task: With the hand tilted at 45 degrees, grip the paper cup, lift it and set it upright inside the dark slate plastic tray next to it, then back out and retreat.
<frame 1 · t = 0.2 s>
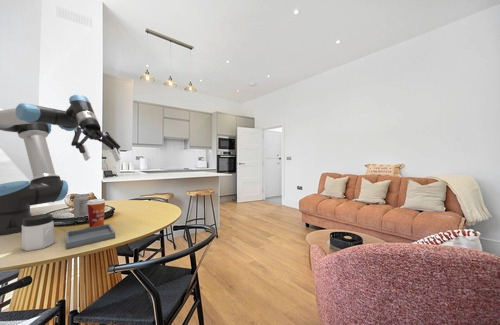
hand: (104, 159, 89), 35 cm above the table, tool tilted 35°, fingers open, 13 cm apart
tray: (90, 237, 86), on the table
jar: (38, 246, 78), on the table
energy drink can: (81, 221, 108), on the table
paper cup: (96, 227, 100), on the table
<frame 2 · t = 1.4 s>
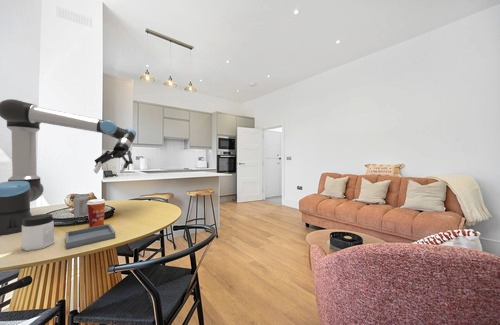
hand: (108, 171, 109), 28 cm above the table, tool tilted 45°, fingers open, 13 cm apart
nothing on the table moved.
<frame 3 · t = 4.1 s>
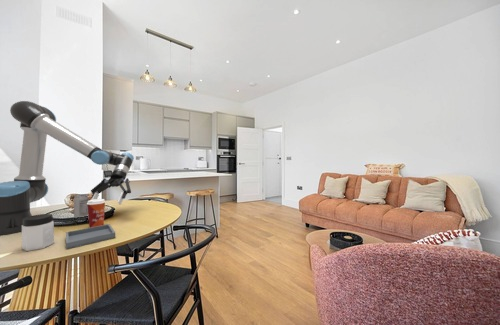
hand: (105, 203, 104), 11 cm above the table, tool tilted 45°, fingers open, 13 cm apart
nothing on the table moved.
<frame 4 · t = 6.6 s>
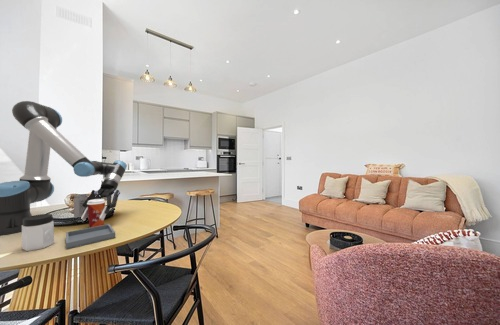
hand: (92, 219, 96), 5 cm above the table, tool tilted 45°, fingers closed on paper cup, 8 cm apart
paper cup: (96, 227, 100), on the table, touching gripper
everything else where it was.
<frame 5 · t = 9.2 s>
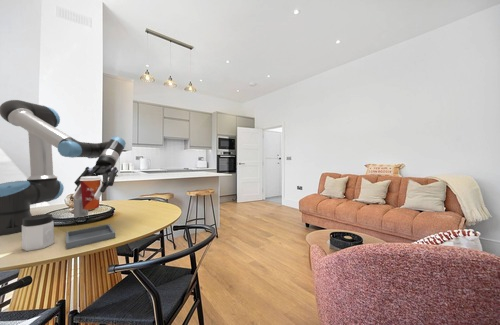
hand: (85, 198, 83), 19 cm above the table, tool tilted 45°, fingers closed on paper cup, 8 cm apart
paper cup: (91, 208, 87), point 13 cm above the table, touching gripper
everything else where it was.
when the fingers open (7 cm above the table, at t = 12.3 s): paper cup drops 1 cm, resting on tray.
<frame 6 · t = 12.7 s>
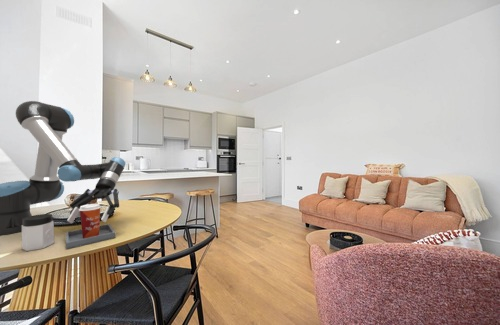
hand: (86, 221, 84), 8 cm above the table, tool tilted 45°, fingers open, 13 cm apart
paper cup: (91, 236, 87), resting on tray
everything else where it was.
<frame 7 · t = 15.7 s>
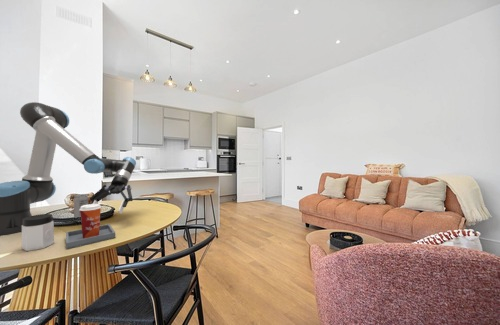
hand: (105, 212, 97), 8 cm above the table, tool tilted 45°, fingers open, 13 cm apart
nothing on the table moved.
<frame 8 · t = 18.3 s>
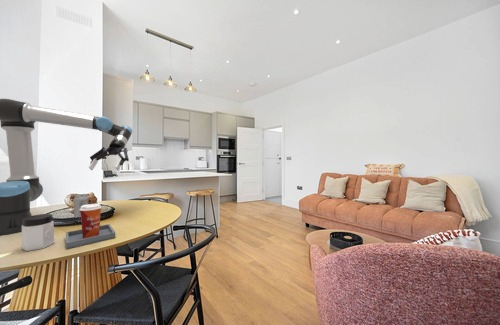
hand: (103, 168, 108), 30 cm above the table, tool tilted 45°, fingers open, 13 cm apart
nothing on the table moved.
at the end: paper cup inside the target area on the tray (0.2 cm from its centre), point 0.4 cm above the tray's base; paper cup tilted 0°; the gripper is holding nothing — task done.
